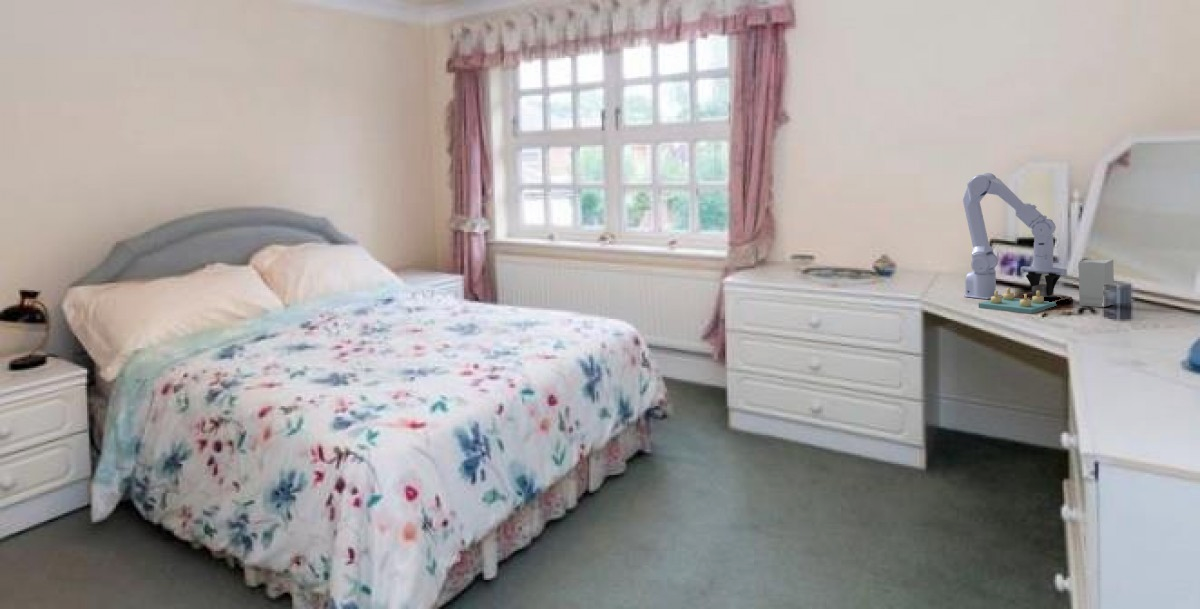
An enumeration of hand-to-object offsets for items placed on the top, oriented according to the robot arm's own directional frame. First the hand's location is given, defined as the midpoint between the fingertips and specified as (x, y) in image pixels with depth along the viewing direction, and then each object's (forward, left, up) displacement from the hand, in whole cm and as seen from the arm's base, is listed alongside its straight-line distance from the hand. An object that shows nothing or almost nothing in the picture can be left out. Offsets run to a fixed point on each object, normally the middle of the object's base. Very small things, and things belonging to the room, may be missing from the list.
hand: (1042, 294), depth 254 cm
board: (0, 0, -2) cm, 2 cm away
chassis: (0, -15, -2) cm, 15 cm away
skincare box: (+17, 0, -2) cm, 17 cm away
